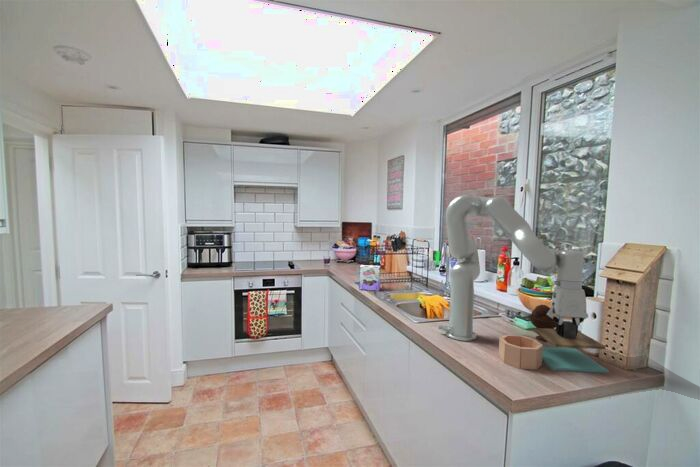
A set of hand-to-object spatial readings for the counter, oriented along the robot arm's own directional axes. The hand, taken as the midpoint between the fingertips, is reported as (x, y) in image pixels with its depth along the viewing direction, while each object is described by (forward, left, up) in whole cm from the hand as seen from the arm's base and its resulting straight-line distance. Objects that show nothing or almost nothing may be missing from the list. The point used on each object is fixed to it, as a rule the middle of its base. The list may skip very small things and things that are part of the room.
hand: (566, 334), depth 117 cm
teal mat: (0, 0, -9) cm, 9 cm away
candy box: (-72, +98, -10) cm, 122 cm away
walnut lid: (0, 0, -2) cm, 2 cm away
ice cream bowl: (+2, +19, -10) cm, 21 cm away
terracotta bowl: (-17, -3, -9) cm, 20 cm away
